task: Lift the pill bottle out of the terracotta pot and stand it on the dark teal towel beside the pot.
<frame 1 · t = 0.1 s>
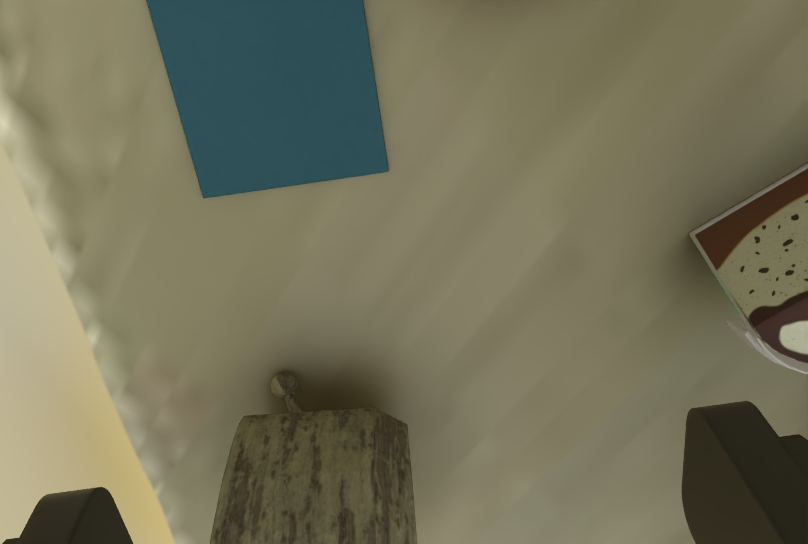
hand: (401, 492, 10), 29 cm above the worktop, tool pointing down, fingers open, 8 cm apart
food container: (782, 227, 42), on the worktop
towel: (258, 7, 34), on the worktop
tabletop clock: (337, 437, 48), on the worktop
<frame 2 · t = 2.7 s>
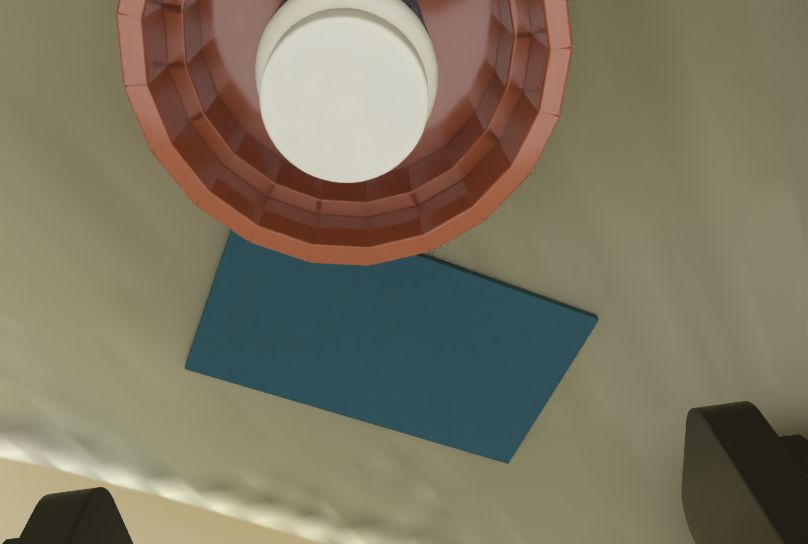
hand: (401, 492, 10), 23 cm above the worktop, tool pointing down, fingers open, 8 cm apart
pill bottle: (351, 35, 29), resting on pot
pot: (351, 33, 29), on the worktop
towel: (390, 340, 36), on the worktop
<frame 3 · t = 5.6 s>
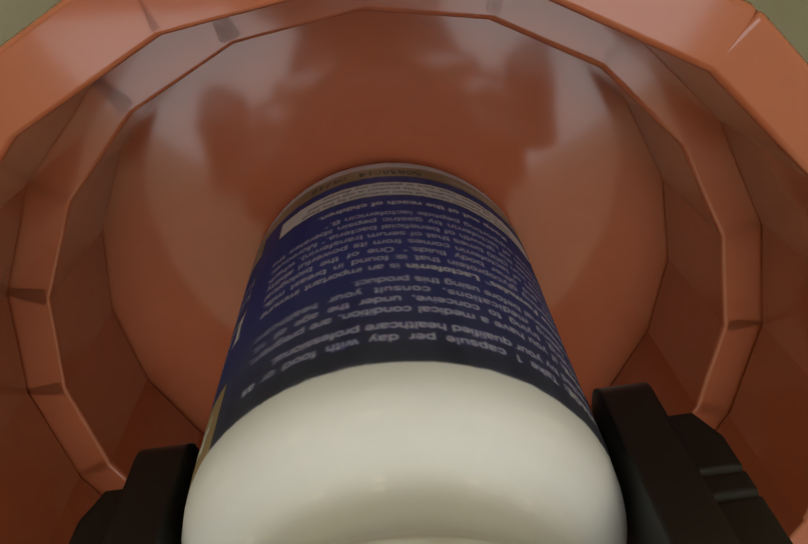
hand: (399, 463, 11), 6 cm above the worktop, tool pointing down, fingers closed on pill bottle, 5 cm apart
pill bottle: (390, 278, 16), resting on pot, touching gripper
pot: (389, 271, 16), on the worktop
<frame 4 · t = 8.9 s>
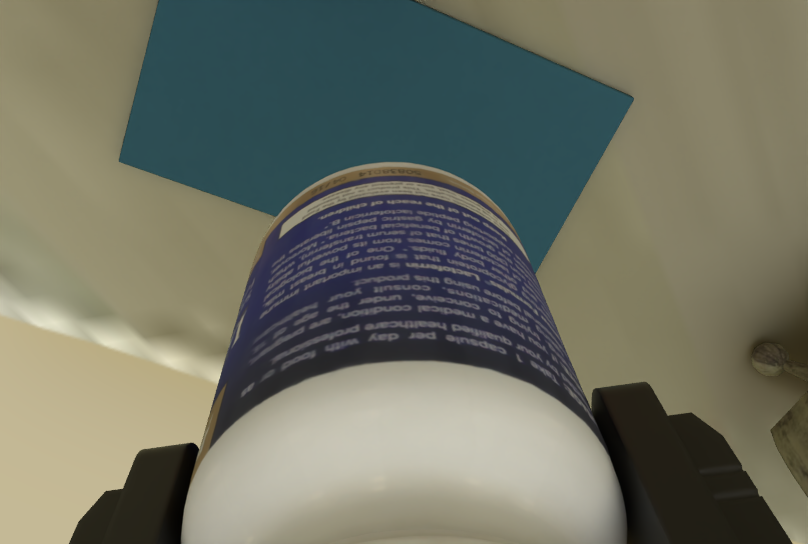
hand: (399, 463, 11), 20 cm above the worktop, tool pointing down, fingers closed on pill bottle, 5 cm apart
pill bottle: (389, 277, 16), point 15 cm above the worktop, touching gripper
towel: (375, 127, 29), on the worktop
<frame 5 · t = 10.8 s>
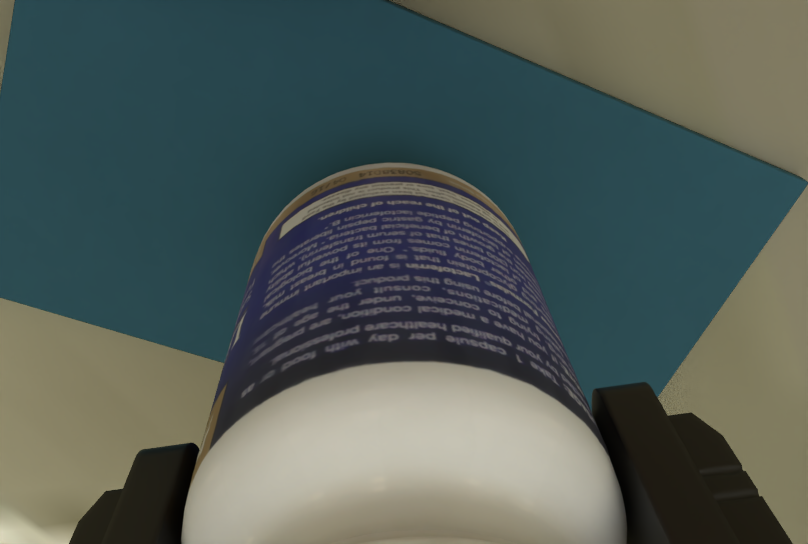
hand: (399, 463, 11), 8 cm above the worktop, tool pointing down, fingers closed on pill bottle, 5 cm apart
pill bottle: (390, 278, 16), point 3 cm above the worktop, touching gripper
towel: (386, 229, 18), on the worktop
when the fingers open (6 cm above the worktop, at t = 12.2 s): pill bottle stays where it is, resting on towel.
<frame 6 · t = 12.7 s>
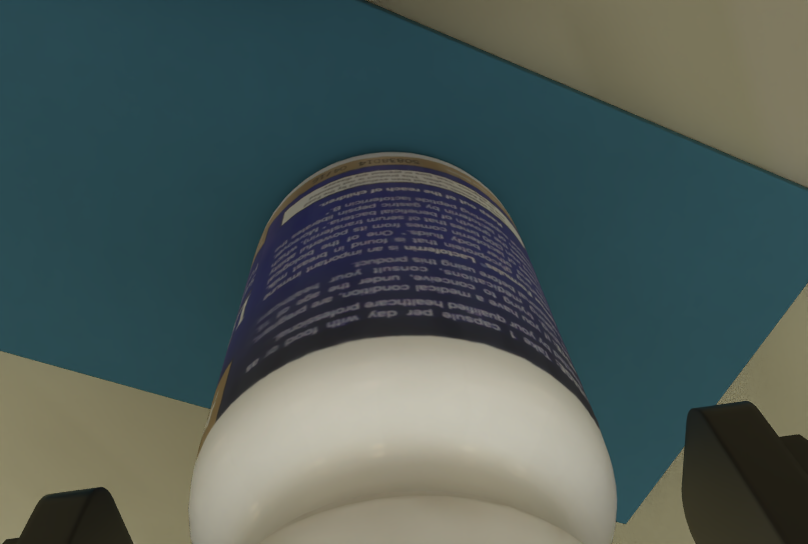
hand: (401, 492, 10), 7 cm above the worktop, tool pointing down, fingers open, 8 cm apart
pill bottle: (389, 266, 16), resting on towel
towel: (389, 264, 16), on the worktop
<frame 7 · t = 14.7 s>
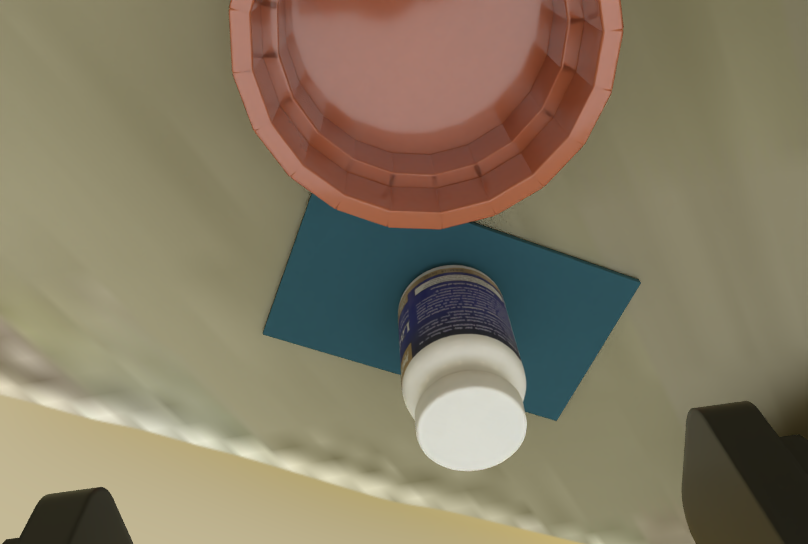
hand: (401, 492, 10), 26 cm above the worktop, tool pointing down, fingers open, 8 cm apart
pill bottle: (449, 306, 39), resting on towel
pot: (418, 24, 32), on the worktop
towel: (449, 305, 39), on the worktop
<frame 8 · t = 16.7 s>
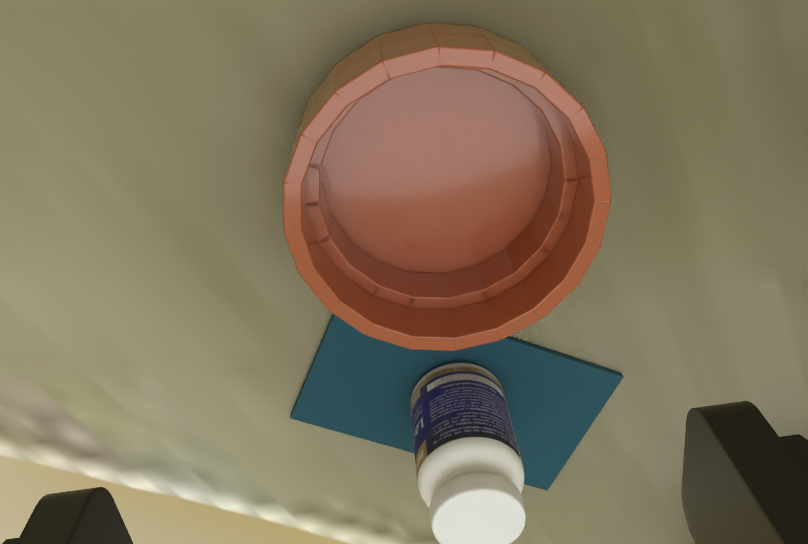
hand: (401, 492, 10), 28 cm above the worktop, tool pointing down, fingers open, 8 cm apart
pill bottle: (456, 395, 44), resting on towel
pot: (436, 168, 38), on the worktop
towel: (455, 393, 45), on the worktop
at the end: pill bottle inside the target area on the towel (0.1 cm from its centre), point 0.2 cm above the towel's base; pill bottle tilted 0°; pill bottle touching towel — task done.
